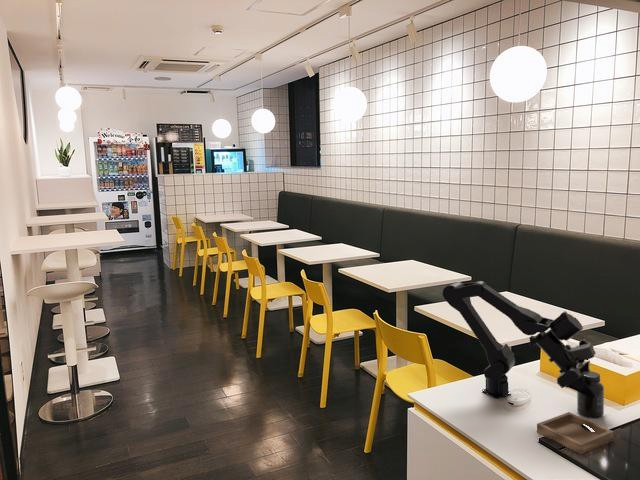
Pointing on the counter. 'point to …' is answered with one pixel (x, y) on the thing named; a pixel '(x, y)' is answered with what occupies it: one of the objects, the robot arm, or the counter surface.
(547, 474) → the counter surface
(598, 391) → the supplement bottle
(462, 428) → the counter surface
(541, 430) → the walnut tray
